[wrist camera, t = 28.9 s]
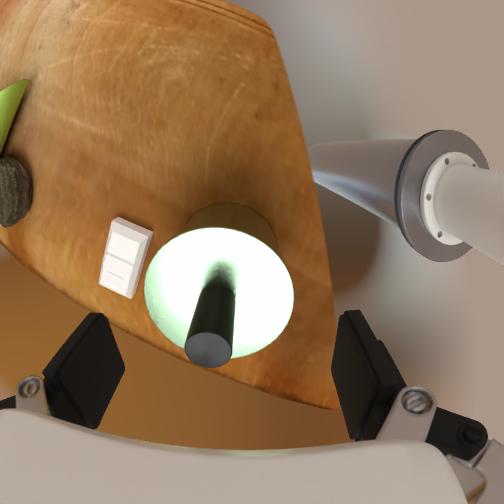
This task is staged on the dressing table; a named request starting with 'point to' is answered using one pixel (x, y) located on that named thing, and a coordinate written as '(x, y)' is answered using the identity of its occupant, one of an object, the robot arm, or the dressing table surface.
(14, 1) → the dressing table surface
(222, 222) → the tin
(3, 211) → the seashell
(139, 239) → the soap bar
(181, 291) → the tin lid
